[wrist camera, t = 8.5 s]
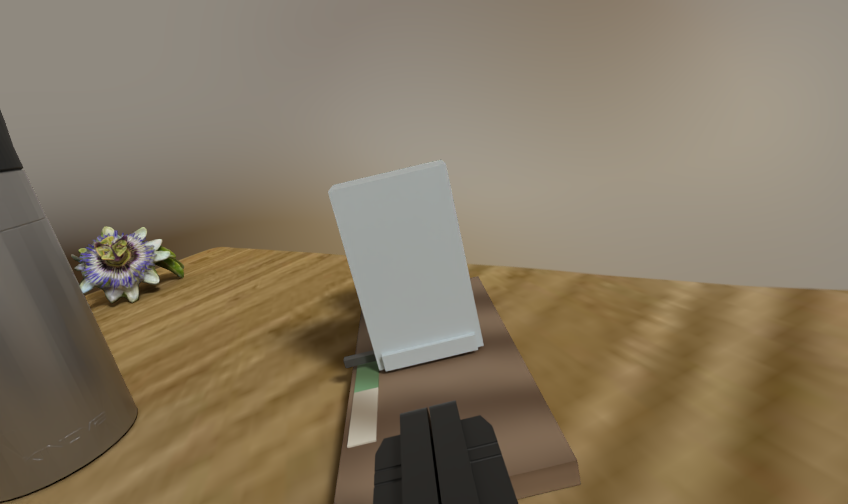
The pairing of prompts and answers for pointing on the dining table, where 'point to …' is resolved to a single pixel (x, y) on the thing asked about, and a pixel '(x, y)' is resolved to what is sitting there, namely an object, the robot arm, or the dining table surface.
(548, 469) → the board
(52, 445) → the robot arm
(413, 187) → the panel
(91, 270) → the passion flower
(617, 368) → the dining table surface
